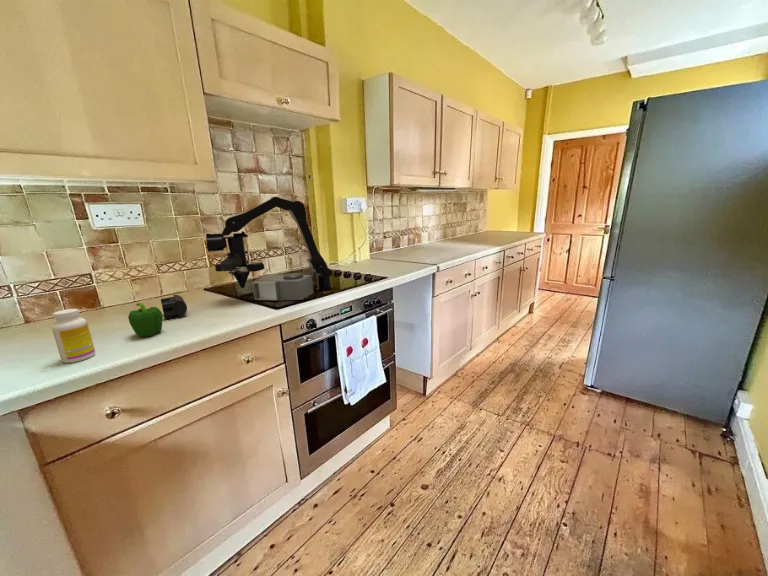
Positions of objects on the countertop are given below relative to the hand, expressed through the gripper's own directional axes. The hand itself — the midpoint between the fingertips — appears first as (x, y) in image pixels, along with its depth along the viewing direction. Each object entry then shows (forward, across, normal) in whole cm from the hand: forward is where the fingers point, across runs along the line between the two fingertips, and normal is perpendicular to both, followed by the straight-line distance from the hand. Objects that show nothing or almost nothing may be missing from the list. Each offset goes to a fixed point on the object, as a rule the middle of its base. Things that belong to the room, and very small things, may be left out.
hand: (242, 287), depth 134 cm
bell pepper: (+6, -7, -37) cm, 38 cm away
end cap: (+6, -14, -20) cm, 25 cm away
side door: (+5, +10, 0) cm, 11 cm away
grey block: (+6, +14, +8) cm, 17 cm away
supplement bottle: (+6, -11, -54) cm, 56 cm away
